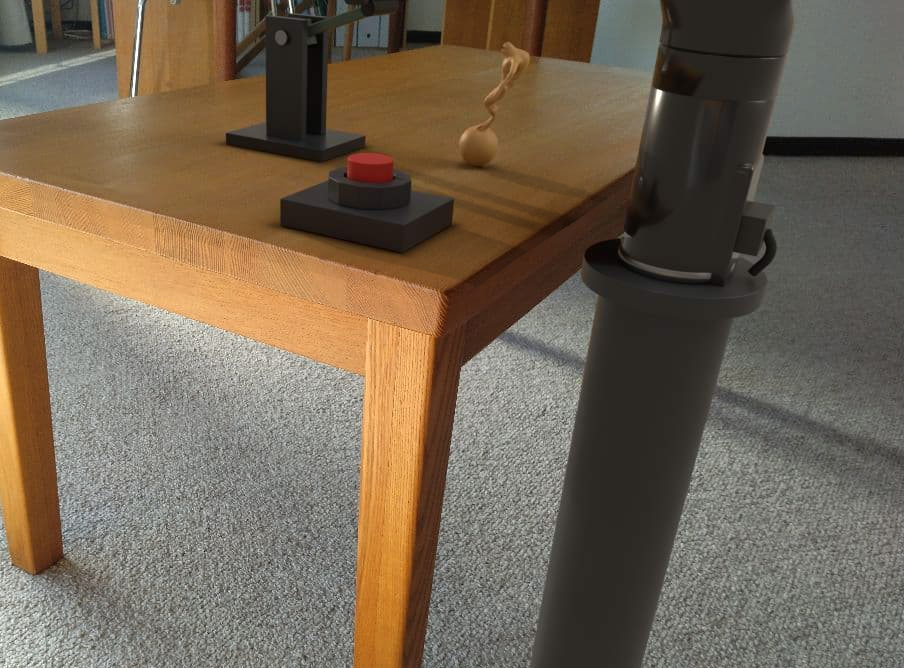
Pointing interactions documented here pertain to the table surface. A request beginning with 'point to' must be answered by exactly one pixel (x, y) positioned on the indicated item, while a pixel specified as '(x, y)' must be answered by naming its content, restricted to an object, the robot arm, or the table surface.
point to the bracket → (296, 96)
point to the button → (370, 168)
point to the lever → (351, 17)
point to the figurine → (492, 110)
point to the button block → (368, 211)
